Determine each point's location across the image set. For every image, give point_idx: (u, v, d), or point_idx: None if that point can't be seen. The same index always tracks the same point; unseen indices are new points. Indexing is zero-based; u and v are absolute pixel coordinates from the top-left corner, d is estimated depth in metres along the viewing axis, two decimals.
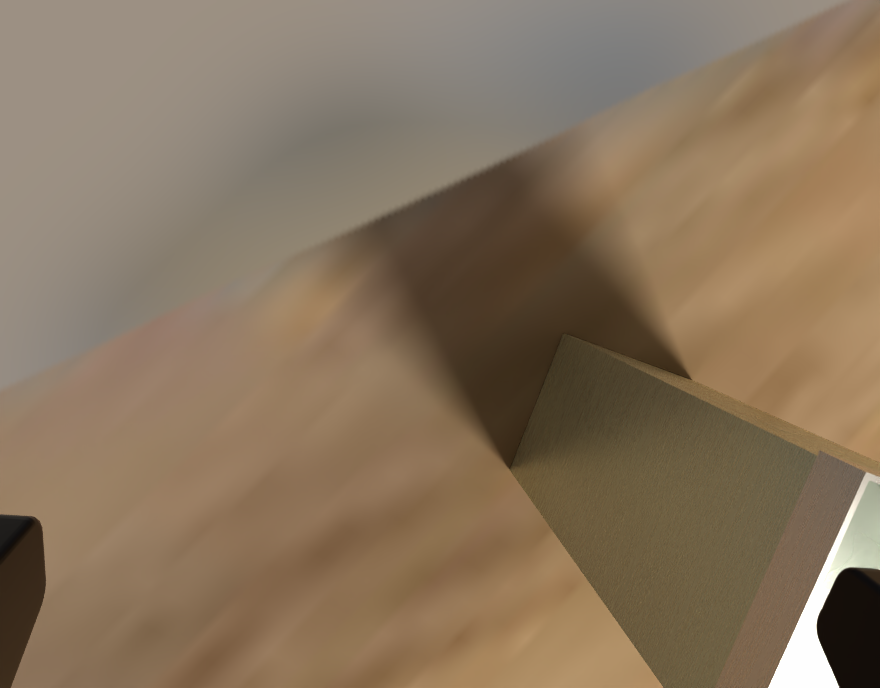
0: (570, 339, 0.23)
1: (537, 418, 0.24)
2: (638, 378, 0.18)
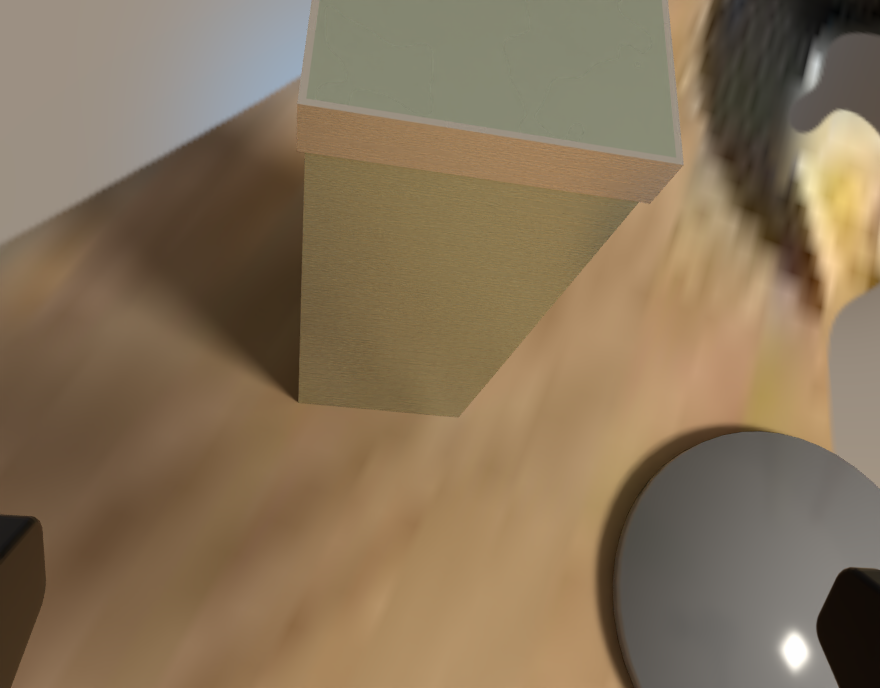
0: None
1: None
2: None
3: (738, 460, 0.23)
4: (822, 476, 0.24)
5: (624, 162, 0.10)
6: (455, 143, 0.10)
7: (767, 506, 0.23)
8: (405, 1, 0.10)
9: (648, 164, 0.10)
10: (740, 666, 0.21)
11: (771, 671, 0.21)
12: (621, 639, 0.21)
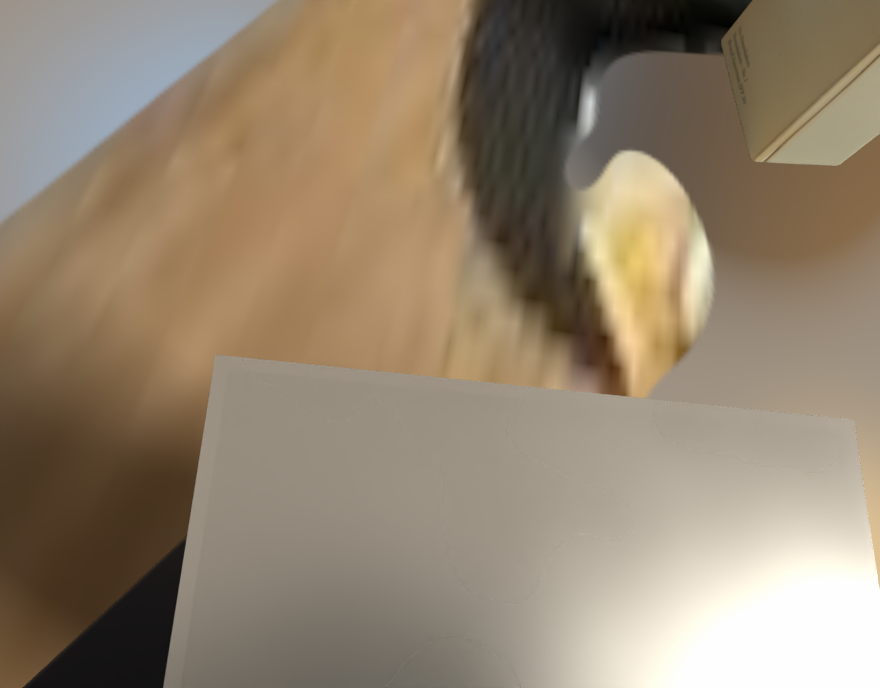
0: None
1: None
2: None
3: None
4: None
5: None
6: None
7: None
8: None
9: None
10: None
11: None
12: None
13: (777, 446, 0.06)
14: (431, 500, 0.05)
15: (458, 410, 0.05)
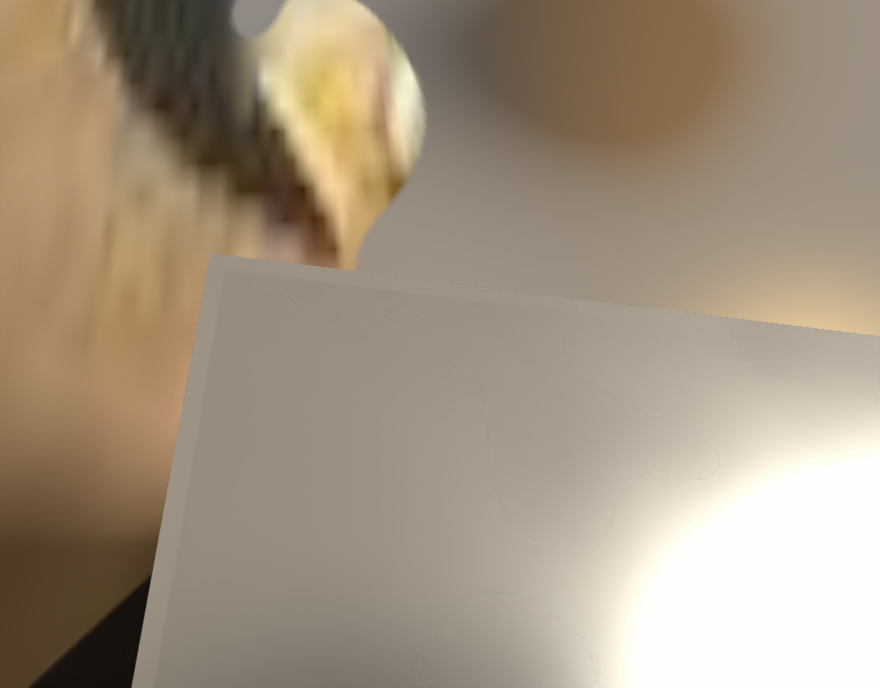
0: None
1: None
2: None
3: None
4: None
5: None
6: None
7: None
8: None
9: None
10: None
11: None
12: None
13: None
14: (474, 428, 0.04)
15: (503, 324, 0.04)
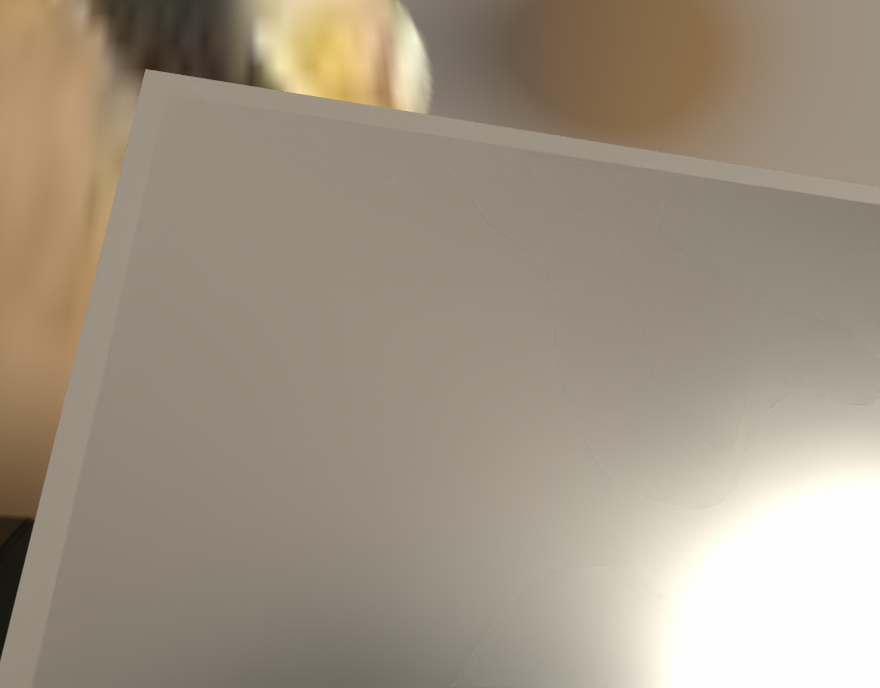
0: None
1: None
2: None
3: None
4: None
5: None
6: None
7: None
8: None
9: None
10: None
11: None
12: None
13: None
14: (536, 324, 0.03)
15: (573, 183, 0.03)
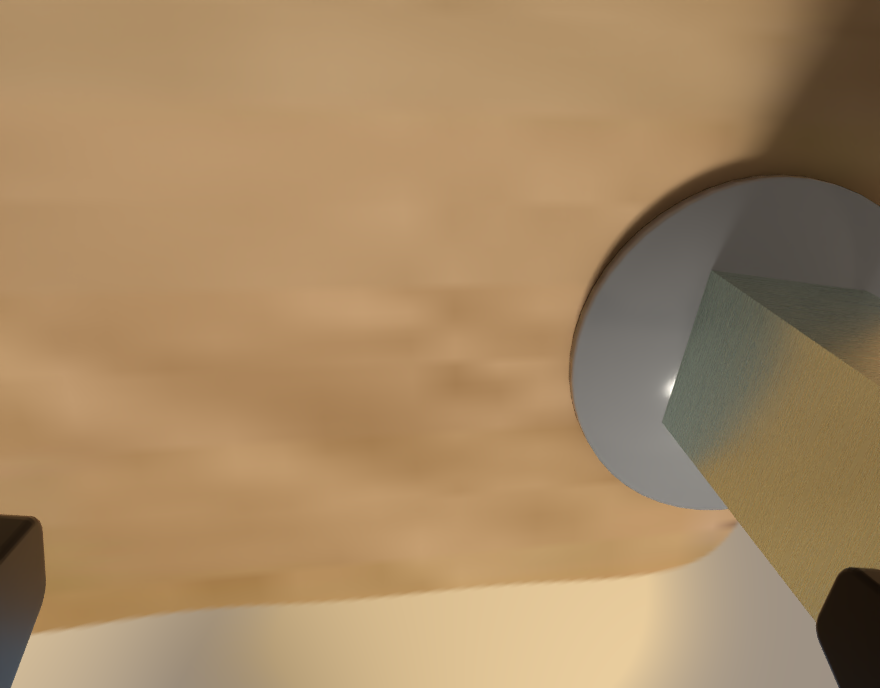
0: None
1: (790, 286, 0.20)
2: None
3: None
4: None
5: None
6: None
7: None
8: None
9: None
10: (687, 325, 0.21)
11: None
12: (682, 204, 0.20)
13: None
14: None
15: None
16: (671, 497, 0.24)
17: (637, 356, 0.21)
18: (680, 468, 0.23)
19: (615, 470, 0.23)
